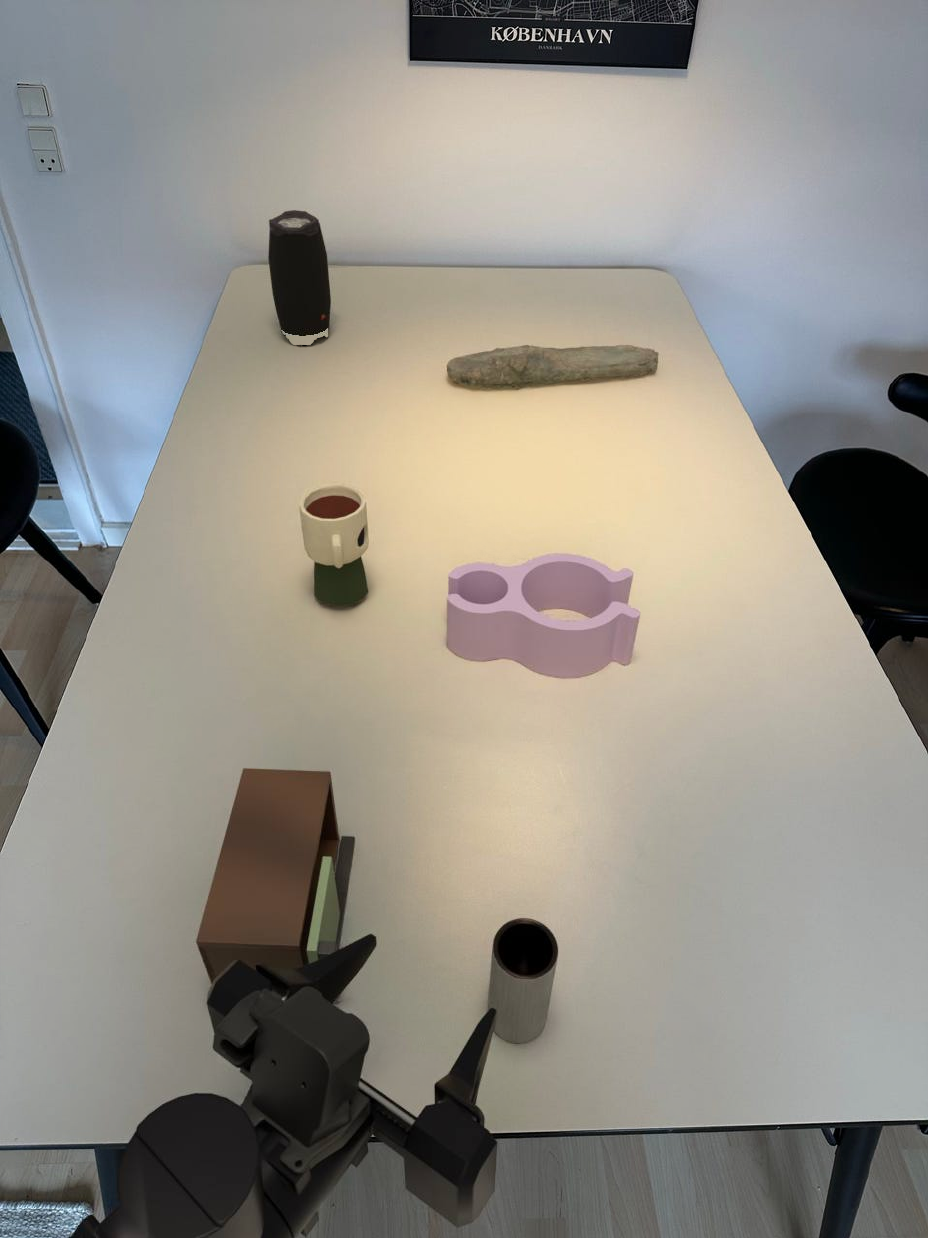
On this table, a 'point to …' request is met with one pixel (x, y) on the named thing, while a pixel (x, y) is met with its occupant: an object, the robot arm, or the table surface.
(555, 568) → the clip
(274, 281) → the portable speaker
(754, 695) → the table surface
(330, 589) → the character mug
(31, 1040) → the table surface
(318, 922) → the sliding door
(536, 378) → the elongated rock
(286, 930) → the cupboard
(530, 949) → the grey hollow tube
